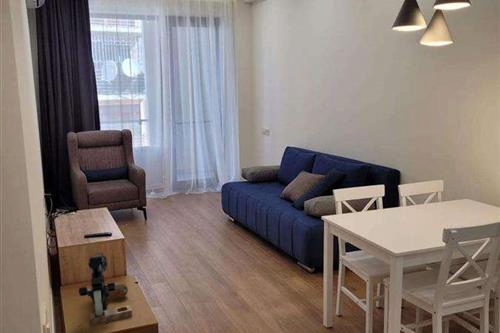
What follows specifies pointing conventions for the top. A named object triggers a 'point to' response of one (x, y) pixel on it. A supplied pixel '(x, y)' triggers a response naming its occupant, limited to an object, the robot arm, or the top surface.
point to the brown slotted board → (112, 314)
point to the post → (98, 303)
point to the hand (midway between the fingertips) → (98, 303)
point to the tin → (118, 291)
